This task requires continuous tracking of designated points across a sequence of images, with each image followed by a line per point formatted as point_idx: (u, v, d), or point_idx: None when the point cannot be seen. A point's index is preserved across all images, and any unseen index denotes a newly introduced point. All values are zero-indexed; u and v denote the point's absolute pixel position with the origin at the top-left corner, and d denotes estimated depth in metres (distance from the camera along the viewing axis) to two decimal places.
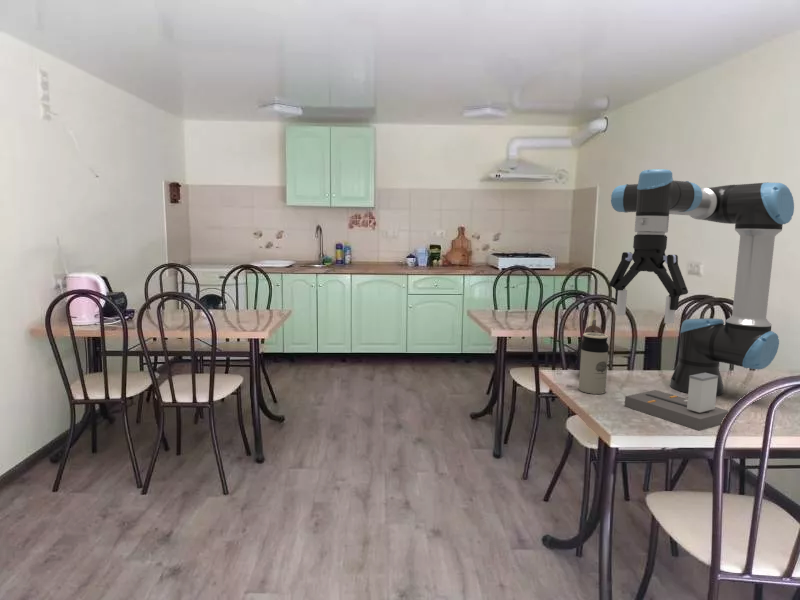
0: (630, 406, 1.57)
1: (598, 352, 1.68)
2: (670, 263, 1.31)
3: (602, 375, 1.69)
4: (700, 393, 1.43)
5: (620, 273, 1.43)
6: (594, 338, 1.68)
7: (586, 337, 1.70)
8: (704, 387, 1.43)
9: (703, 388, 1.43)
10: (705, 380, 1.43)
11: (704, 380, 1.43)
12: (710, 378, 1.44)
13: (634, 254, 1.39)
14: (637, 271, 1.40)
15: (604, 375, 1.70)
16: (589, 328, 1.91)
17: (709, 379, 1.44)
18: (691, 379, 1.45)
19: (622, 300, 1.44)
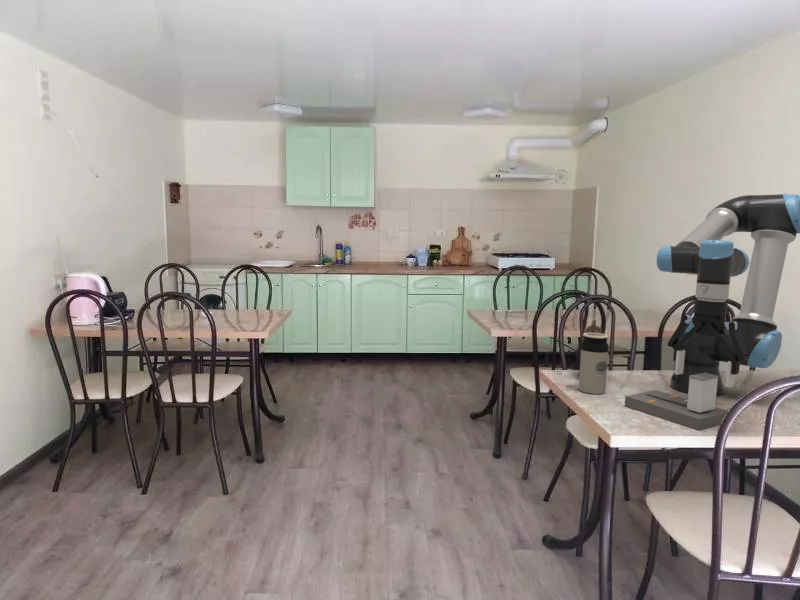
0: (630, 406, 1.57)
1: (598, 352, 1.68)
2: (732, 330, 1.38)
3: (602, 375, 1.69)
4: (700, 393, 1.43)
5: (679, 334, 1.50)
6: (594, 338, 1.68)
7: (586, 337, 1.70)
8: (704, 387, 1.43)
9: (703, 388, 1.43)
10: (705, 380, 1.43)
11: (704, 380, 1.43)
12: (710, 378, 1.44)
13: (694, 318, 1.46)
14: (696, 334, 1.47)
15: (604, 375, 1.70)
16: (589, 328, 1.91)
17: (709, 379, 1.44)
18: (691, 379, 1.45)
19: (680, 360, 1.50)
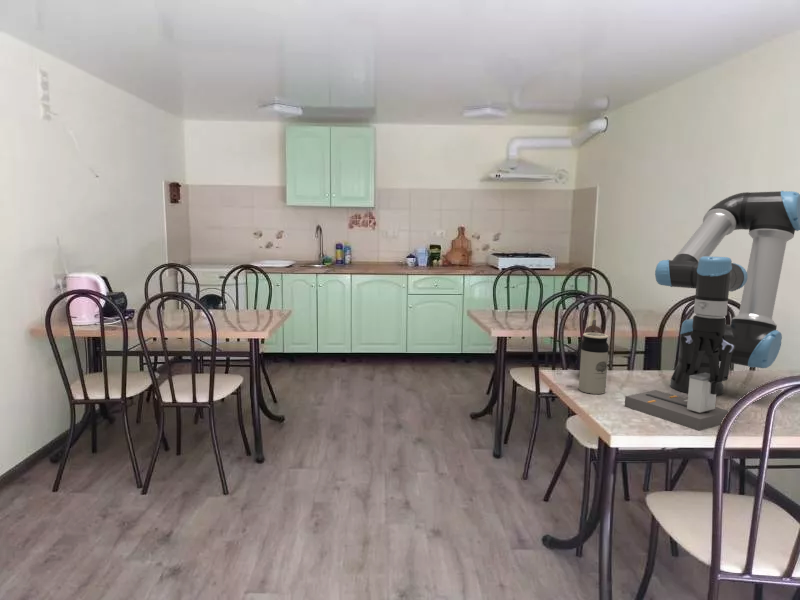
0: (630, 406, 1.57)
1: (598, 352, 1.68)
2: (725, 352, 1.39)
3: (602, 375, 1.69)
4: (700, 393, 1.43)
5: (687, 357, 1.49)
6: (594, 338, 1.68)
7: (586, 337, 1.70)
8: (704, 387, 1.43)
9: (703, 388, 1.43)
10: (705, 380, 1.43)
11: (704, 380, 1.43)
12: None
13: (692, 334, 1.47)
14: (702, 352, 1.46)
15: (604, 375, 1.70)
16: (589, 328, 1.91)
17: (709, 379, 1.44)
18: (691, 379, 1.45)
19: None
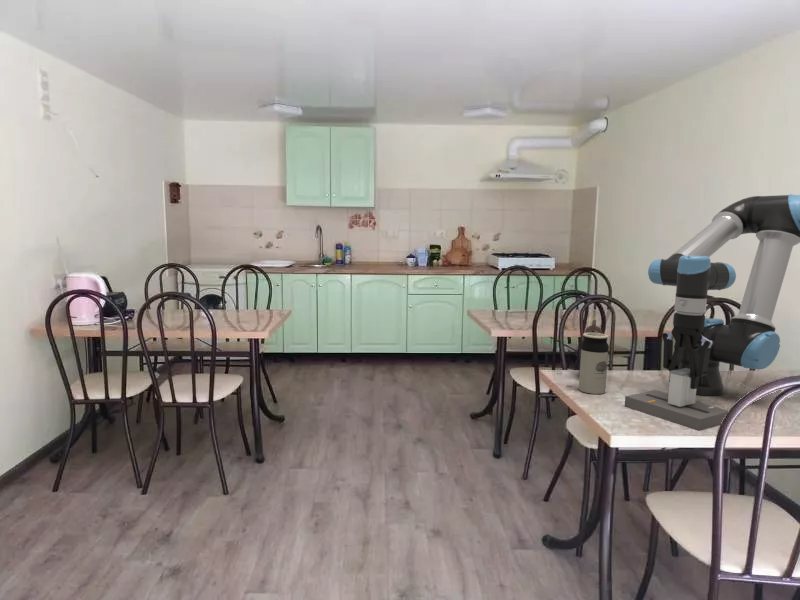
0: (630, 406, 1.57)
1: (598, 352, 1.68)
2: (704, 348, 1.44)
3: (602, 375, 1.69)
4: (680, 388, 1.48)
5: (668, 353, 1.53)
6: (594, 338, 1.68)
7: (586, 337, 1.70)
8: (684, 382, 1.48)
9: (683, 383, 1.48)
10: (685, 375, 1.48)
11: (684, 375, 1.47)
12: None
13: (673, 331, 1.51)
14: (682, 348, 1.51)
15: (604, 375, 1.70)
16: (589, 328, 1.91)
17: (689, 374, 1.49)
18: (672, 374, 1.50)
19: None
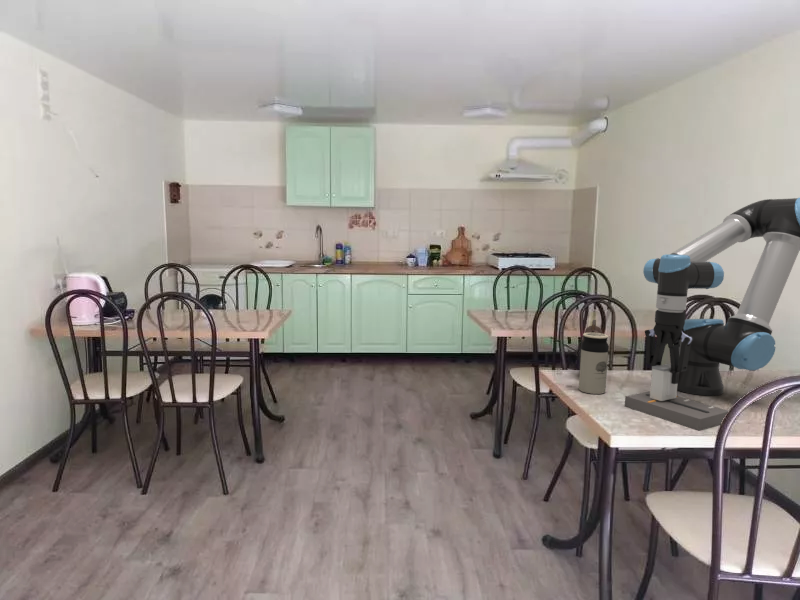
0: (630, 406, 1.57)
1: (598, 352, 1.68)
2: (684, 344, 1.49)
3: (602, 375, 1.69)
4: (661, 383, 1.52)
5: (651, 349, 1.58)
6: (594, 338, 1.68)
7: (586, 337, 1.70)
8: (665, 377, 1.52)
9: (664, 378, 1.52)
10: (666, 370, 1.52)
11: (665, 370, 1.52)
12: None
13: (654, 327, 1.56)
14: (664, 344, 1.56)
15: (604, 375, 1.70)
16: (589, 328, 1.91)
17: (670, 369, 1.53)
18: (653, 370, 1.54)
19: None
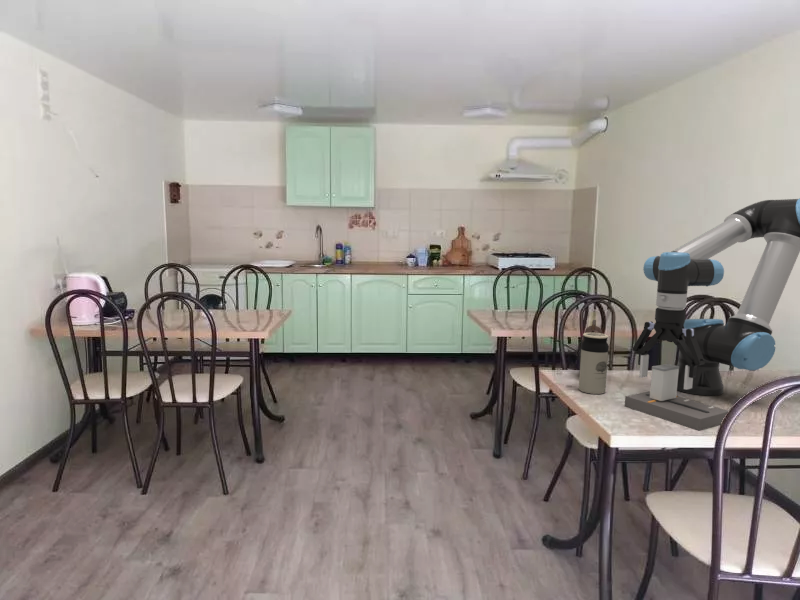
0: (630, 406, 1.57)
1: (598, 352, 1.68)
2: (689, 336, 1.48)
3: (602, 375, 1.69)
4: (661, 383, 1.52)
5: (643, 340, 1.60)
6: (594, 338, 1.68)
7: (586, 337, 1.70)
8: (665, 377, 1.52)
9: (664, 378, 1.52)
10: (666, 370, 1.52)
11: (665, 370, 1.52)
12: (671, 369, 1.53)
13: (656, 325, 1.56)
14: (658, 339, 1.57)
15: (604, 375, 1.70)
16: (589, 328, 1.91)
17: (670, 369, 1.53)
18: (653, 370, 1.54)
19: (644, 364, 1.60)
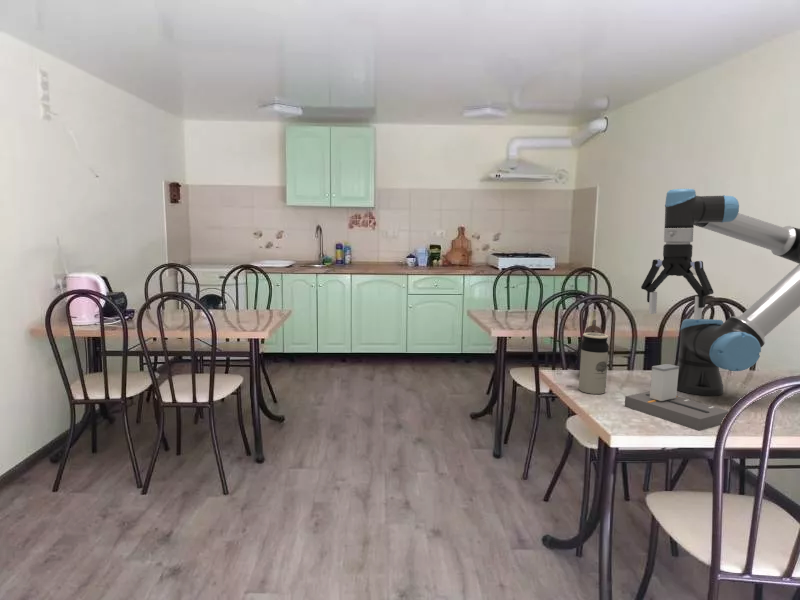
0: (630, 406, 1.57)
1: (598, 352, 1.68)
2: (697, 268, 1.54)
3: (602, 375, 1.69)
4: (661, 383, 1.52)
5: (651, 277, 1.66)
6: (594, 338, 1.68)
7: (586, 337, 1.70)
8: (665, 377, 1.52)
9: (664, 378, 1.52)
10: (666, 370, 1.52)
11: (665, 370, 1.52)
12: (671, 369, 1.53)
13: (664, 261, 1.62)
14: (666, 275, 1.63)
15: (604, 375, 1.70)
16: (589, 328, 1.91)
17: (670, 369, 1.53)
18: (653, 370, 1.54)
19: (653, 300, 1.67)
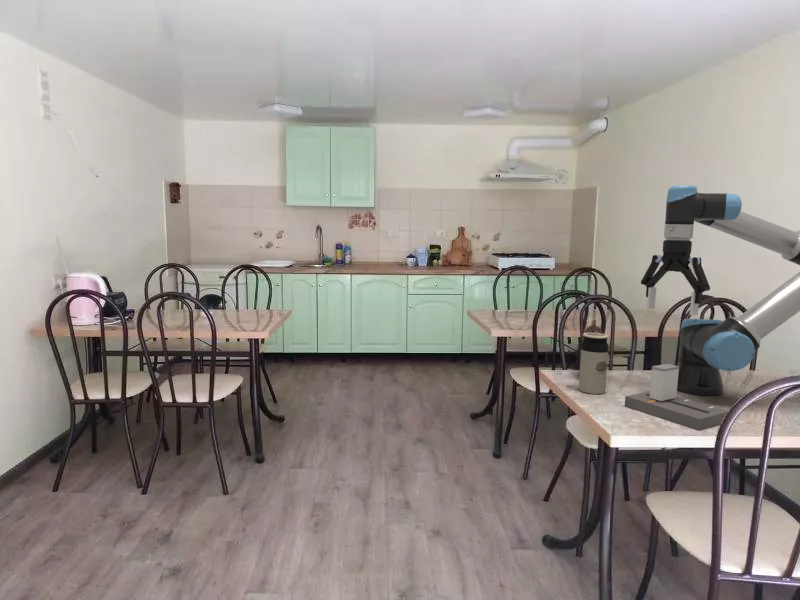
0: (630, 406, 1.57)
1: (598, 352, 1.68)
2: (695, 264, 1.55)
3: (602, 375, 1.69)
4: (661, 383, 1.52)
5: (650, 273, 1.68)
6: (594, 338, 1.68)
7: (586, 337, 1.70)
8: (665, 377, 1.52)
9: (664, 378, 1.52)
10: (666, 370, 1.52)
11: (665, 370, 1.52)
12: (671, 369, 1.53)
13: (663, 256, 1.64)
14: (665, 271, 1.65)
15: (604, 375, 1.70)
16: (589, 328, 1.91)
17: (670, 369, 1.53)
18: (653, 370, 1.54)
19: (652, 296, 1.68)
